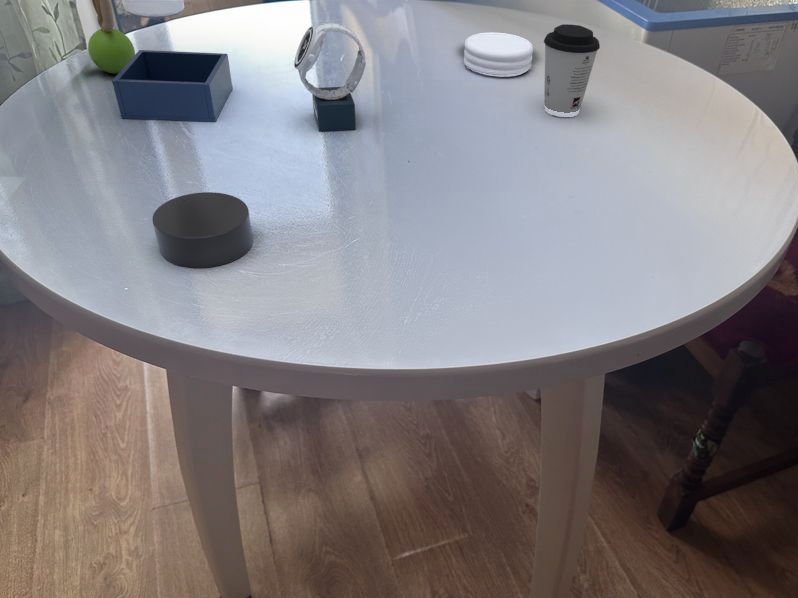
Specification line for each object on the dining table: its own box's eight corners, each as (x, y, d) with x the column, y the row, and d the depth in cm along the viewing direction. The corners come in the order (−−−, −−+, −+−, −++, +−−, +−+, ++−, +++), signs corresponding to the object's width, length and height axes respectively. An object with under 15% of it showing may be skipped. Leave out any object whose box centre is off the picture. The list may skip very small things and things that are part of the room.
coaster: (510, 84, 100) (512, 58, 97) (450, 67, 103) (451, 42, 101) (542, 65, 106) (545, 41, 104) (485, 50, 110) (487, 26, 108)
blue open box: (121, 118, 83) (111, 80, 80) (147, 85, 91) (139, 49, 88) (215, 122, 84) (209, 84, 81) (232, 88, 92) (227, 53, 89)
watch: (297, 114, 87) (288, 18, 80) (362, 110, 89) (359, 17, 82) (302, 132, 83) (293, 34, 76) (370, 129, 85) (368, 32, 78)
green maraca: (103, 84, 90) (76, -19, 83) (89, 68, 94) (62, -32, 86) (147, 78, 93) (124, -23, 85) (132, 62, 97) (109, -36, 89)
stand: (148, 267, 61) (140, 237, 59) (172, 219, 67) (165, 190, 65) (244, 269, 61) (239, 239, 59) (259, 221, 67) (255, 193, 66)
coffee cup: (591, 123, 91) (606, 41, 84) (537, 120, 90) (548, 38, 84) (584, 102, 96) (597, 24, 90) (532, 99, 96) (542, 20, 89)
